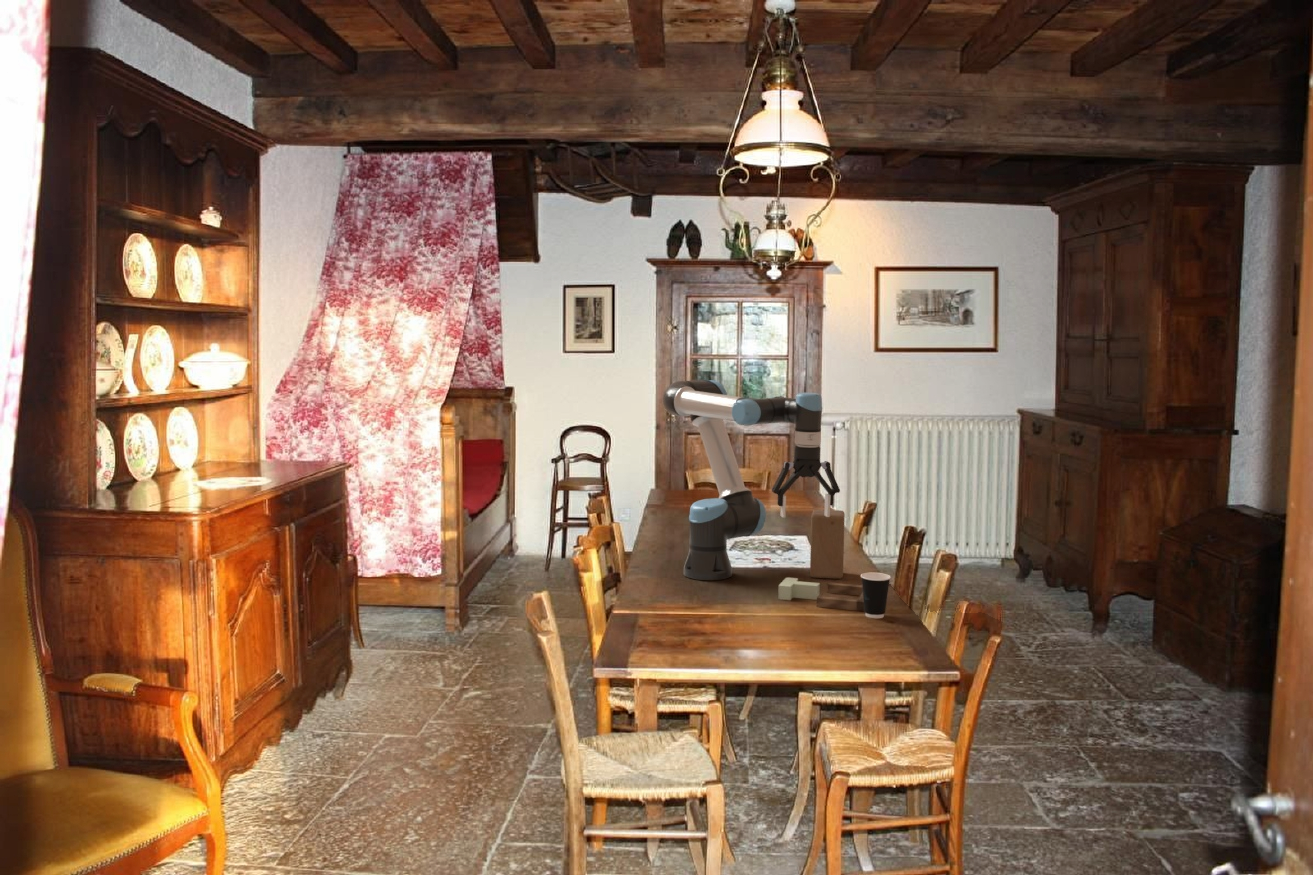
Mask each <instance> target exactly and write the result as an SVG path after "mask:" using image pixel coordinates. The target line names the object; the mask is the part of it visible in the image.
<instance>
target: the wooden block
mask: <svg viewBox="0 0 1313 875" xmlns="http://www.w3.org/2000/svg"><path fill="white" fill-rule="evenodd" d="M824 511H825V509H813V510H812V513H811V517H810V552H809V554H810V561H809V575H810V577H811V578H814V579H817V578H818V579H835V580H836V579H837V580H839V579H840V580H841V579H842V578H843V576H844V560H845V559H844V557H845V556H844V554H845V551H844V550H845V518H846V517H845V511H844V510H835V509H830V517H826V516H825V515H824Z"/></svg>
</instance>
